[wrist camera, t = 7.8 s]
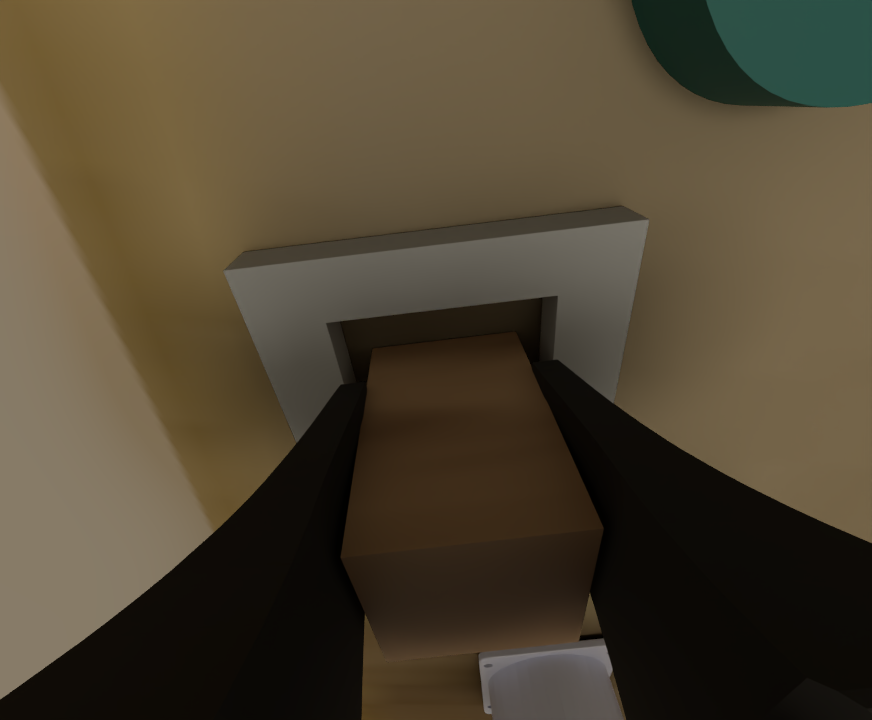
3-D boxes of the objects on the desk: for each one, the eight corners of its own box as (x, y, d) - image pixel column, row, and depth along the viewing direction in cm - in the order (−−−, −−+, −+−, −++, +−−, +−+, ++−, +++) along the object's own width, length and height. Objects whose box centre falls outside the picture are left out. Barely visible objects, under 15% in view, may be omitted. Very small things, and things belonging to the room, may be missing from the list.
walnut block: (514, 435, 13) (578, 641, 8) (395, 448, 13) (387, 661, 8) (515, 331, 11) (604, 528, 6) (372, 348, 11) (340, 557, 6)
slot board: (575, 516, 16) (586, 544, 15) (354, 540, 16) (350, 569, 15) (623, 205, 9) (649, 219, 8) (243, 251, 9) (223, 270, 8)
